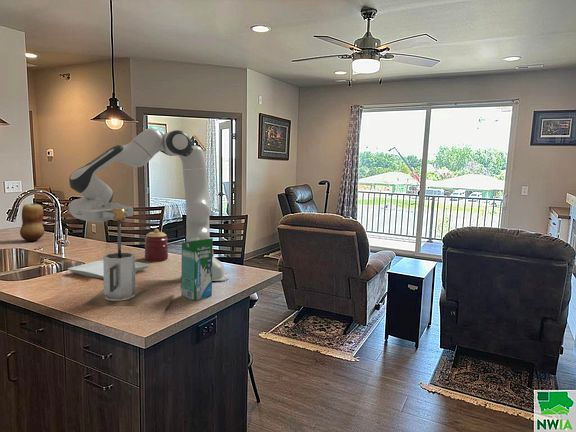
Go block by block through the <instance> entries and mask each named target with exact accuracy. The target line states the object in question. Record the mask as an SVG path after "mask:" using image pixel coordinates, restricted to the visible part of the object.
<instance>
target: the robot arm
mask: <svg viewBox="0 0 576 432" xmlns="http://www.w3.org/2000/svg"><path fill="white" fill-rule="evenodd" d="M158 153H162V154H164V155H167V156H170V157H173V156H178V157H179V158H180V160H181V163H182V165H181V166H182V177H183V178H182V179H183V188H184V197H185V198H184V199H185V208H186V209H185V210H186V211H185V212H186V223H185V226H186V235H185V236H186V238H185V242H190V239H191V238H197V237H199V240H203V239H210V238H211V237H210V236H211V235H210V234H211V233H210V216H211V212H212V211H211V201H210V192H209V183H208V182H209V181H208V170H207V163H206V158H205V153H204V151H203V148H202V147H200V146H199V145H194V142H192V140H191V139H190V136H189V135H188V134H187V133H186V132H185V131H182V130H177V129H174V130H171V131H169V132H167V133H164V134H163V133H161V132H160V131H159V130H157V129H155V128H153V127H148V128H146V129H144V130H143V131H141V132H140V133H139V134H137V135H136V136H135V137H134V138H133V139H132V140H131V141H129V142H128V143H127V144H123V145H119V144H118V145H117V144H116V145H115V146H112V147H110V148H109V149H107V150H106V151H104V152H103V153H102V154H100V155H98V156H97V157H96V158H94V159H92V160H91V161H90V162H88V163H87V164H85V165H84V166H81V167H80V168H78V169H76V170H74V171H73V172H72V173H71V174H70V176H69V179H68V180H69V186H70V188H71V189H72V190H73V191H75V192H76V193H78V194H80V195H81V196H82V197H80V198H77V199H73V200H72V201H70V203H69V204H68V211H69V214H70V215H71V216H72V217H74V218H76V219H79V220H81V221H89V222H93V223H98V224H103V223H105V222H107V221H110V220H113V218H115V213H113V209H115V208H123V209H125V218H127V217H128V218H129V217H133V216H134V208H133V207H132V206H129V205H124V204H120V203H119V202H112V201H113V198H114V191H113V189H112V188H111V187H110V186H109V185H108V184H107V183H106V182H104V181H103V180H102V179H101V178H99V177H98V176H97V173H99V172H101V171H102V170H104V169H105V168H106V167H108V166H109V165H111V164H112V163H121V164H124V165H127V166H130V167H133V168H141V167H144V166H145V165H147V164H148V163H149V162H150V161H151V160H152V159H153V158H154V156H156V154H158ZM214 254H215V253H214V250H213V251H212V281H221V282H225V281H224V280H226V279H228V277H229V278H230V273H228V272H226V271H225V266H224V264H223V262H221V261H220V260H219V259H218V258H216V257H215V256H214ZM228 280H229V279H228ZM226 281H227V280H226Z"/></svg>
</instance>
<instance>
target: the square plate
mask: <svg viewBox="0 0 576 432" xmlns="http://www.w3.org/2000/svg"><path fill="white" fill-rule="evenodd" d="M149 266H150V264H149V263H145V262H139V261H135V273H137V272H141V271H143V270H146V269H147V268H148V267H149ZM67 270H68V271H69V272H71V273H73V274H77V275H81V276H85V277H90V278H95V279H100V280H104V266H103V259H102V260H97V261H92V262H88V263H83V264H80V265H79V264H78V265H76V266H72V267H68V268H67Z"/></svg>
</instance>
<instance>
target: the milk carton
mask: <svg viewBox="0 0 576 432" xmlns="http://www.w3.org/2000/svg"><path fill="white" fill-rule="evenodd" d="M213 239H214V238H213V237H212V238H211V237H210V239H203V240H199V237H197V238H191V239H190V242H186V241H184V242H181V282H180V283H181V285H180V286H181V290H180V292H181V293H180V294H181V296H182V297H183V298H186V299H189V300H191V301H194V302H195V301H199V300H202V298H203V299H206V298H209V296H210V297H212V295H213V292H212V291H213V289H212V288H213V282H212V251H213V252H214V249H213V247H214V246H213V243H214V241H213ZM205 297H206V298H205Z"/></svg>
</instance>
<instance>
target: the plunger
mask: <svg viewBox="0 0 576 432" xmlns="http://www.w3.org/2000/svg"><path fill="white" fill-rule="evenodd" d="M113 213H115V218H113V219H112V221H114V222H117V224H116V225H117V226H116V227H117V228H116V229H117V230H116V231H117V253H118V258H121V253H122V227H121V226H122V223H121V222H123V221H126V217H125V209H123V208H115V209H113Z"/></svg>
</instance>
